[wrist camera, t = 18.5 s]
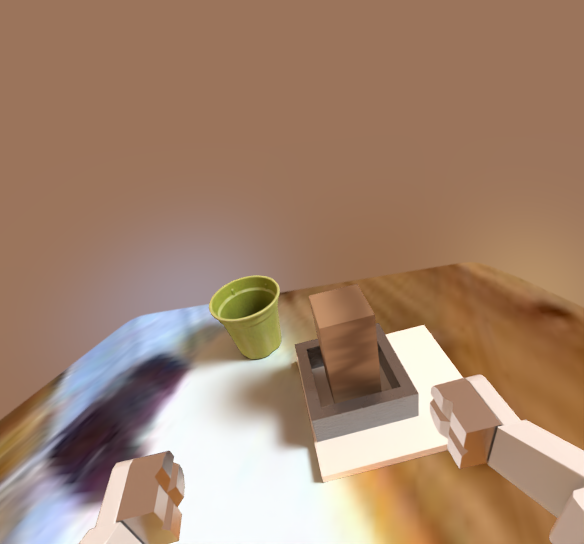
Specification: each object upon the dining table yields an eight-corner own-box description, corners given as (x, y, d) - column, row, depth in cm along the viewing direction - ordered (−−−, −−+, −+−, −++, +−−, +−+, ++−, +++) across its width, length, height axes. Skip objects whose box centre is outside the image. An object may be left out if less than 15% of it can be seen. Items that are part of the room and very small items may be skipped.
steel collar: (317, 442, 34) (311, 421, 32) (300, 364, 42) (294, 344, 41) (418, 415, 34) (418, 393, 32) (380, 343, 43) (378, 323, 41)
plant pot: (223, 374, 45) (201, 326, 40) (232, 326, 53) (215, 281, 48) (293, 364, 44) (278, 313, 40) (291, 317, 52) (279, 270, 47)
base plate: (323, 482, 31) (321, 477, 31) (297, 362, 44) (296, 357, 44) (500, 436, 32) (501, 429, 31) (423, 330, 44) (423, 324, 44)
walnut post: (336, 412, 36) (319, 328, 30) (326, 376, 40) (308, 296, 34) (382, 400, 36) (374, 314, 30) (366, 365, 40) (357, 283, 34)
